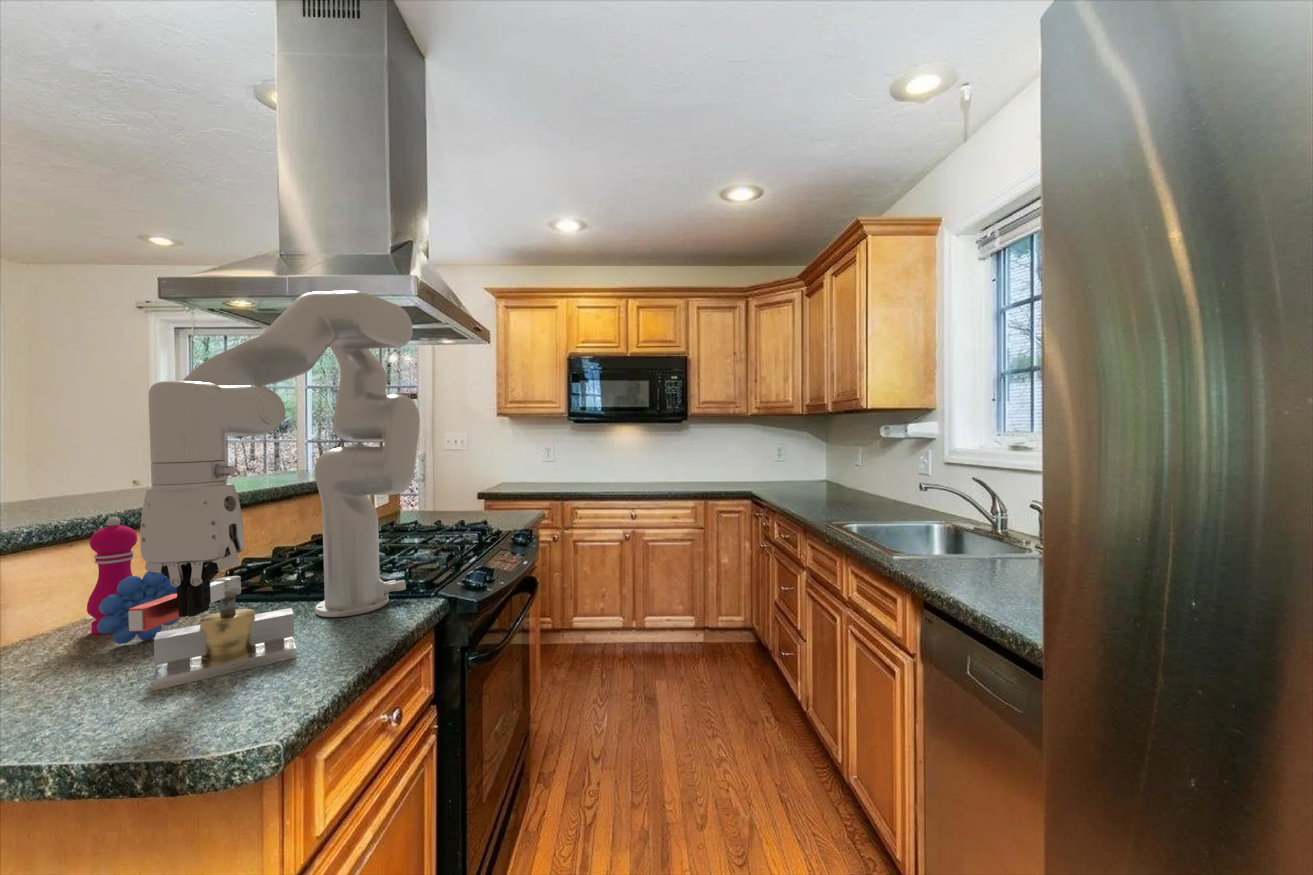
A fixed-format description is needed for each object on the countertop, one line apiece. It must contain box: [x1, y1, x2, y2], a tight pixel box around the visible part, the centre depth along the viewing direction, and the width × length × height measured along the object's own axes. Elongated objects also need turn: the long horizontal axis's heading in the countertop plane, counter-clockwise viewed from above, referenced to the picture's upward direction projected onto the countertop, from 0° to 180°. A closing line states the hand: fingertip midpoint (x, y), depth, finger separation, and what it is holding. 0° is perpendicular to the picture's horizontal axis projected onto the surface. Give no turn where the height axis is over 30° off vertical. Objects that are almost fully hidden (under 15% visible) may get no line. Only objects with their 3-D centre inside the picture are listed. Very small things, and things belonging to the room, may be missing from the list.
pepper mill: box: [86, 516, 138, 635], centre depth 96 cm, size 7×7×20 cm
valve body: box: [152, 595, 297, 692], centre depth 80 cm, size 16×9×10 cm, turn 128°
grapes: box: [97, 571, 182, 645], centre depth 91 cm, size 12×7×12 cm, turn 136°
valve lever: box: [128, 575, 242, 631], centre depth 74 cm, size 16×3×3 cm, turn 1°
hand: (194, 613), depth 71 cm, fingers closed
